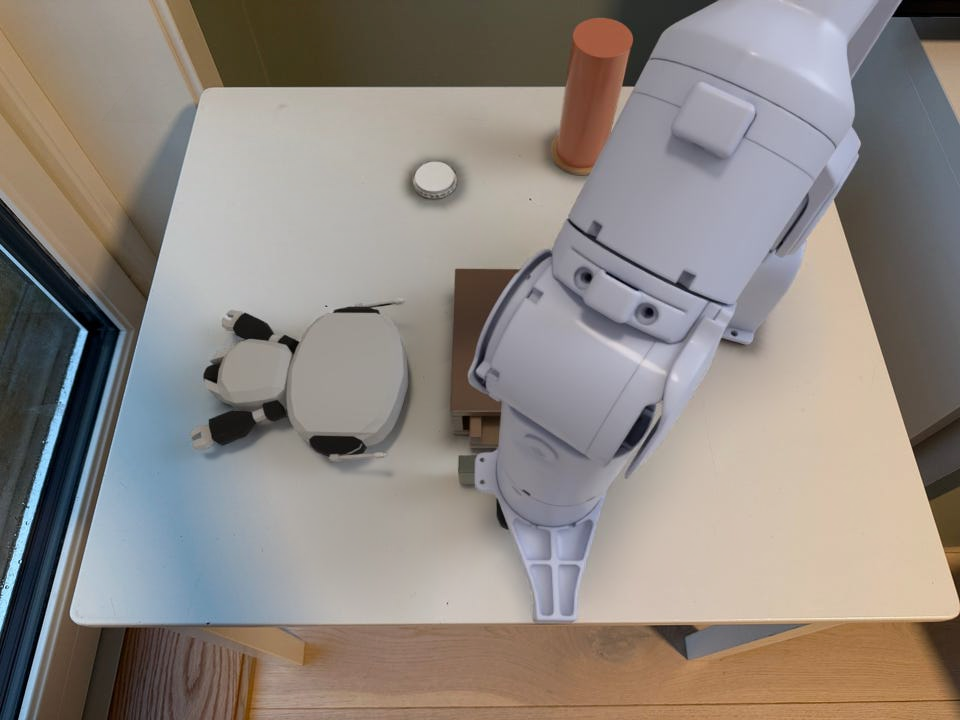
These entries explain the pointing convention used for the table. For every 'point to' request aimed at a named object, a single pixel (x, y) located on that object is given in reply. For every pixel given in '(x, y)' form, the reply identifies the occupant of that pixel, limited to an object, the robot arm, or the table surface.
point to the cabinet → (472, 341)
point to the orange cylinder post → (592, 89)
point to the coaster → (563, 165)
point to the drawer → (478, 444)
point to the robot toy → (311, 381)
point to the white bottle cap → (434, 179)
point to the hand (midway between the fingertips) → (536, 510)
